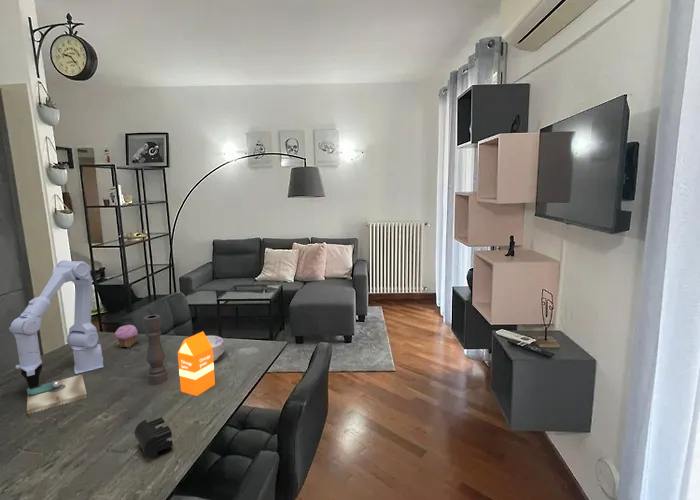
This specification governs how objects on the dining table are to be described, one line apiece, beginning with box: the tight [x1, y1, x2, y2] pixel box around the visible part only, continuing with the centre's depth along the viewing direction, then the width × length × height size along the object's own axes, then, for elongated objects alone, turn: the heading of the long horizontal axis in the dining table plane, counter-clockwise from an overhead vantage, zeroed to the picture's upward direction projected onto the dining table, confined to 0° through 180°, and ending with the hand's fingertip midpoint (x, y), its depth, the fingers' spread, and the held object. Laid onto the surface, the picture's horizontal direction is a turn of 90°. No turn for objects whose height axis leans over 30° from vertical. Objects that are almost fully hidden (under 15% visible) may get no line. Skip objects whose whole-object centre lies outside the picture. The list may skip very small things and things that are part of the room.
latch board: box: [26, 374, 88, 415], centre depth 136 cm, size 16×18×2 cm
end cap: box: [134, 416, 174, 459], centre depth 107 cm, size 10×7×7 cm
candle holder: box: [142, 313, 168, 386], centre depth 143 cm, size 6×6×25 cm
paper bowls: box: [205, 335, 225, 362], centre depth 162 cm, size 15×15×8 cm
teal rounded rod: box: [26, 379, 61, 396], centre depth 135 cm, size 9×2×2 cm, turn 129°
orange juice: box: [177, 330, 216, 397], centre depth 138 cm, size 8×9×20 cm
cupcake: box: [114, 324, 138, 349], centre depth 176 cm, size 9×9×10 cm
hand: (34, 387), depth 136 cm, fingers closed
